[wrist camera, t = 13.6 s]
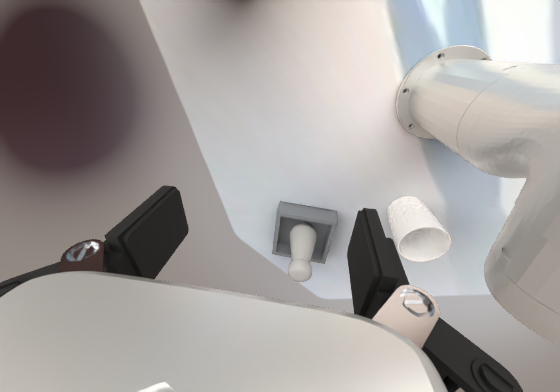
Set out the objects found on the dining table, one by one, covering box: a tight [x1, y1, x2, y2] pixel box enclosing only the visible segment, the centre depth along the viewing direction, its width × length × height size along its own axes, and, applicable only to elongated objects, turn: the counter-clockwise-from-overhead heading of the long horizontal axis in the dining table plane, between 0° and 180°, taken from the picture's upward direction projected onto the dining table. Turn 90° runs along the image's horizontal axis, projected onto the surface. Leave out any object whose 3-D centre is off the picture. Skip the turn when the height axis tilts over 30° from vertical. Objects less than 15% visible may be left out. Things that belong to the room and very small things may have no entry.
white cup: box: [387, 196, 451, 262], centre depth 42 cm, size 8×8×10 cm
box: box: [272, 201, 337, 264], centre depth 50 cm, size 12×12×4 cm
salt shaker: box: [288, 222, 316, 282], centre depth 46 cm, size 6×6×13 cm
